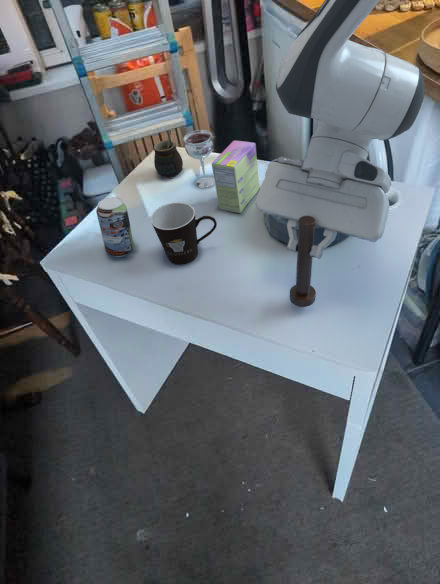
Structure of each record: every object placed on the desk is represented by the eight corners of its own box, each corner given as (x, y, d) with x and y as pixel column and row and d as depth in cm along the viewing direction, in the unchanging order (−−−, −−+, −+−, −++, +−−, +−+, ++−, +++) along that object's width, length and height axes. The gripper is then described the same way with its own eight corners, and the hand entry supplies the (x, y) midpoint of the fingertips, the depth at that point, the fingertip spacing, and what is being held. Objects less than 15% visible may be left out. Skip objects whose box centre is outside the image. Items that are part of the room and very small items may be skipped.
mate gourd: (153, 181, 111) (143, 145, 104) (162, 165, 116) (153, 130, 109) (179, 181, 110) (171, 145, 102) (187, 165, 115) (180, 129, 107)
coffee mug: (155, 264, 89) (142, 226, 82) (174, 238, 94) (163, 199, 87) (206, 275, 85) (197, 235, 78) (223, 246, 90) (216, 207, 83)
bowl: (366, 200, 94) (369, 178, 90) (347, 257, 83) (350, 235, 79) (281, 189, 101) (280, 169, 97) (253, 241, 90) (251, 220, 86)
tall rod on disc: (318, 292, 75) (325, 214, 64) (311, 309, 72) (317, 230, 62) (293, 287, 77) (296, 209, 66) (286, 303, 74) (288, 225, 63)
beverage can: (102, 257, 93) (82, 211, 84) (122, 236, 97) (105, 191, 88) (125, 264, 90) (106, 217, 82) (145, 242, 94) (129, 196, 86)
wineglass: (187, 187, 107) (177, 142, 99) (201, 172, 111) (192, 128, 102) (210, 192, 104) (202, 146, 96) (224, 177, 108) (217, 131, 100)
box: (238, 185, 105) (233, 139, 96) (260, 189, 103) (256, 142, 94) (218, 209, 99) (210, 163, 91) (240, 214, 97) (234, 167, 88)
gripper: (264, 148, 68) (238, 234, 69) (397, 174, 58) (363, 272, 60) (278, 160, 73) (254, 239, 75) (402, 185, 64) (370, 274, 66)
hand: (303, 254), depth 68 cm, fingers closed on tall rod on disc, 2 cm apart
